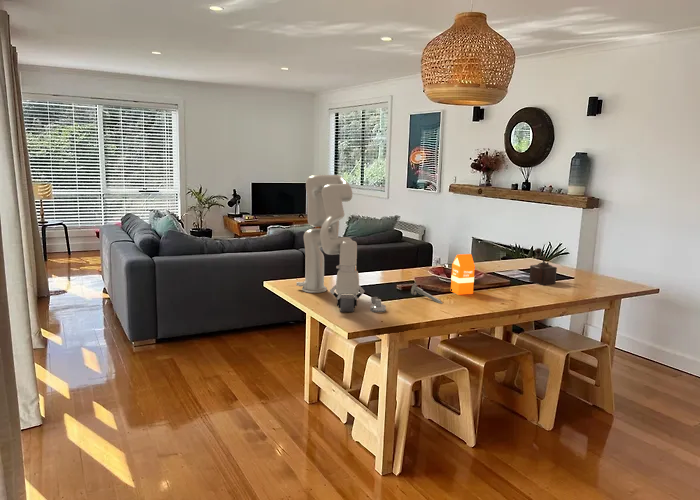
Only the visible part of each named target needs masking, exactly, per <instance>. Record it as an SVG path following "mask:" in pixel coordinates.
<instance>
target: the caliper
mask: <svg viewBox="0 0 700 500" xmlns="http://www.w3.org/2000/svg"><path fill="white" fill-rule="evenodd" d="M410 294H411V295H412V296H417V294H418V295H420V296H422V295H423V296H425V297H427V298H428V299H431V300H432V301H433V302H435V303H438V304H444V303H443V302H442V300H440V299H438V297H435V296H433V295H432V294H430V293H428V292H426V291H424V289H422V288H421V287H419V286H418V284H416V283H413V285H411V289H410Z"/></svg>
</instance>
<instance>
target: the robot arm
mask: <svg viewBox="0 0 700 500" xmlns="http://www.w3.org/2000/svg"><path fill="white" fill-rule="evenodd" d="M305 190H306V194H307V198H308V199H307V223H308V225H309V226H310V227H314V228H310V229H308V230H305V232H304V233H303V243H304V244H303V245H304V250H305V251H304V254H305V257H304V259H305V264H304V265H305V268H304V269H305V272H304V273H305V276H304V278H305V279H304V281H296V284H295V285H296V286H298V287H302V288H301V290H302V291H303V292H305V293H309V294H310V293H311V294H320V293H325V292H326V291H327V290H328V288H327V286H325V256H324V254H326V255H329V256H333V255H339V264H338V265H336V266H335V269H338V270H337V273H336V278H335V279H336V280H335V283H336V284H334V286H333V287H332V288H330V289H329V292H330V293H331V294H332V295H333V296H334V298H336V299H337V300H336V306H338V309H340V296H341V295H354V309H356V307H357V306H358V301H357V300H358V299H359V298H360V297H361V296H362V295H363V294H364V293H365V290H364V289H363V287H361V285H360V279H359V278H360V277H359V271H358V270H357V263H358V262H357V259H358V244H357V241H355V240H352V238H351V237H348V236H347V237H346V236H344V237H343V236H342V237H341V236H339V229H340V227H339V226H340V220H342V219H344V218H345V210H344V205H343V202H345V203H346V202H347V203H348V202H350V201H351V200H352V199H353V189H352V187H351V185H350V184H349V182H347V181H346V179H344V178H343V176H341V175H338V174H313V175H310V176H308V177H307V178H306V182H305ZM315 227H316V228H315ZM317 227H319V228H317ZM321 248H322V251H321ZM323 252H324V253H323Z"/></svg>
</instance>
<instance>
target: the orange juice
mask: <svg viewBox="0 0 700 500" xmlns="http://www.w3.org/2000/svg"><path fill="white" fill-rule="evenodd" d="M474 262H475V261H474V259H473V255H472V254H471V253H462V254H460V253H459V254H456V256H455V257H454V260H453V262H452V263H451V275H450V276H451V277H450V281H451V283H450V290H451V289H452V291H451V292H452V293H453V294H456V295H457V296H460V295H472V294H474V283H475V270H476V269H475V268H476V266H475V263H474Z"/></svg>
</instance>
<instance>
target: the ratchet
mask: <svg viewBox="0 0 700 500" xmlns="http://www.w3.org/2000/svg"><path fill="white" fill-rule="evenodd" d="M370 300H371V304H370V309H369V310H370V312H371V311H372V312H371V313H375V312H383V313H385V312H387V311H386V310H387V306H386V305H385V304H382V299H380V298H379V297H378V296H370Z"/></svg>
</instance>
